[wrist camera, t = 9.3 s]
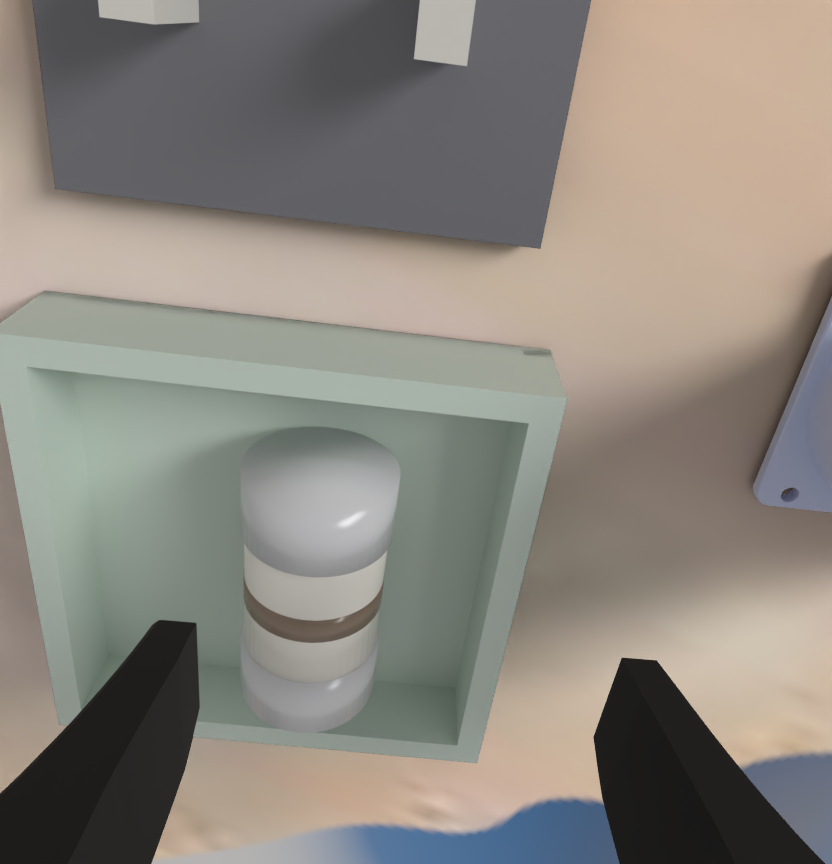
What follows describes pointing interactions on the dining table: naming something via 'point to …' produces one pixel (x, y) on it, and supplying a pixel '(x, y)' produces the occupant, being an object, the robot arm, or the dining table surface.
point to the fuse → (313, 573)
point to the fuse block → (317, 107)
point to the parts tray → (221, 497)
